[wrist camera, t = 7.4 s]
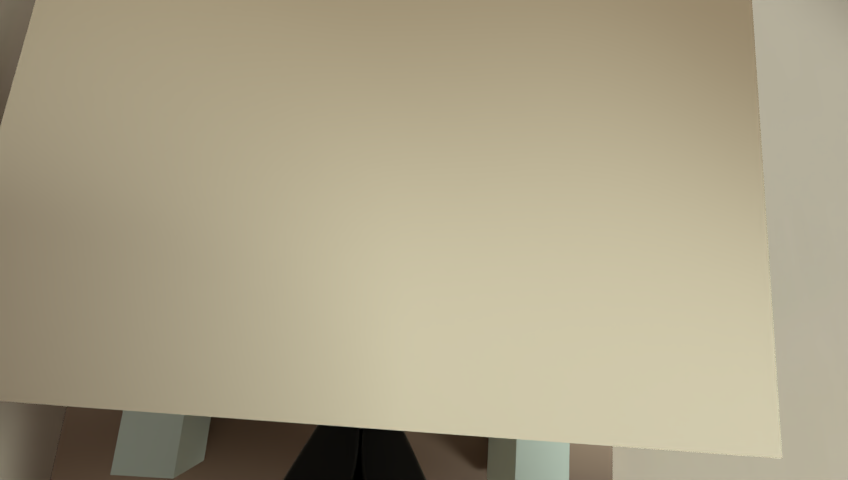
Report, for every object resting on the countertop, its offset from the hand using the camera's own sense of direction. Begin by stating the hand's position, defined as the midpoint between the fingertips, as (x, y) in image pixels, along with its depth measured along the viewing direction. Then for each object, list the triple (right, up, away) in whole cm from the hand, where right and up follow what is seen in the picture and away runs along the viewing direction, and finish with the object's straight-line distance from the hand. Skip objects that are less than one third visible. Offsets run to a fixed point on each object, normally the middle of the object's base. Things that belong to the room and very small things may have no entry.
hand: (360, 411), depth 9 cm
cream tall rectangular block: (-1, +1, +6) cm, 6 cm away
